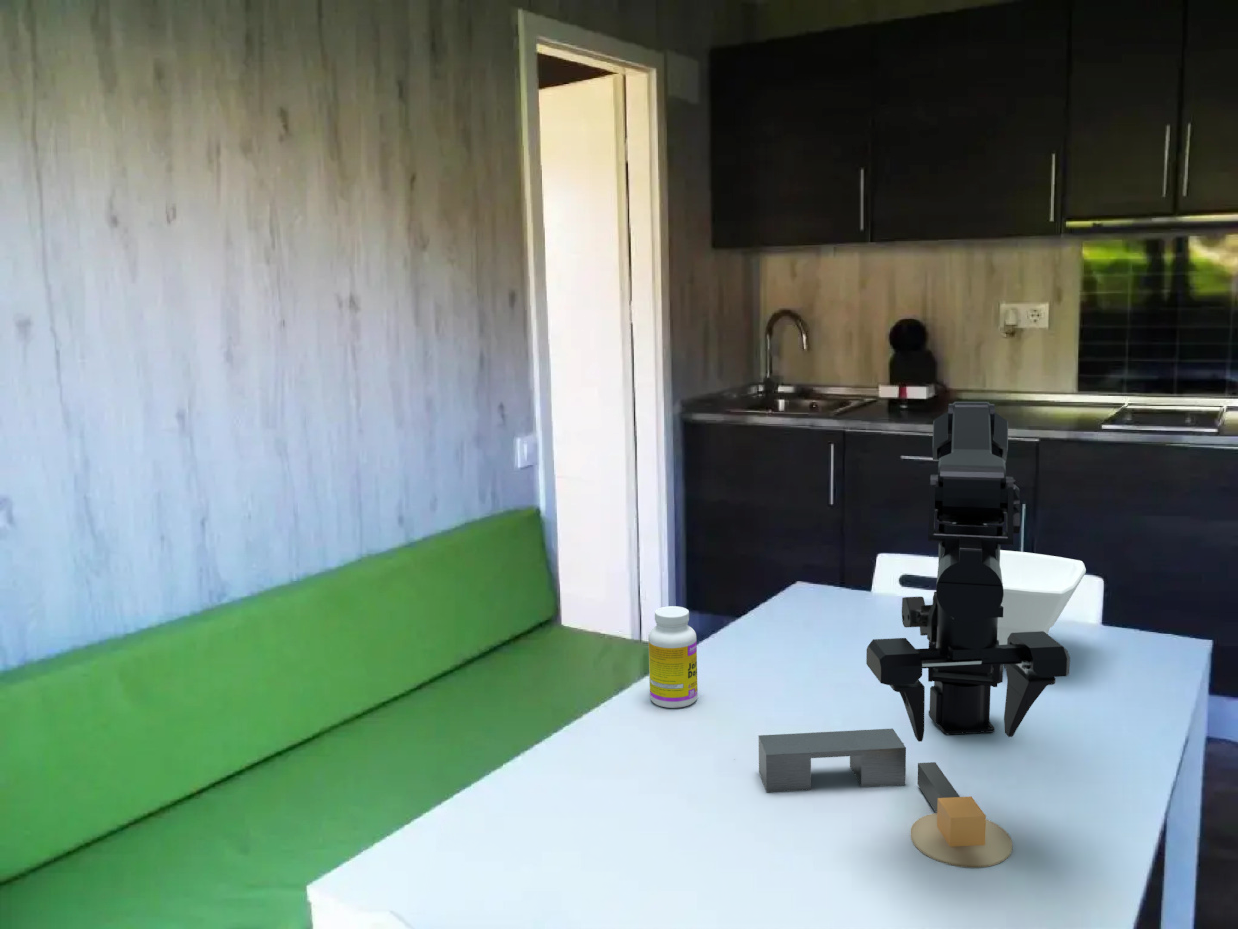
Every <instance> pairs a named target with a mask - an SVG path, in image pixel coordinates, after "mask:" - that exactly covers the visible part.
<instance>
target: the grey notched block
mask: <svg viewBox="0 0 1238 929" xmlns="http://www.w3.org/2000/svg"><path fill="white" fill-rule="evenodd" d="M842 757H843V758H844V757H849V768H850V770H851V772H852V774H853V775H854V777H855V779H856V780H857V782H858V784H859V786H860V788H873V787H874V788H875V787H890V786H891V787H893V786H905V785H906V772H907V770H906V769H907V768H906V764H907V761H906V760H907V747H906V745H905V744H904V743H903V741H902V740H901V738H900V737H899V735H898V734H897V732H896V731H895V729H894V728H877V729H876V728H875V729H859V730H855V729H853V730H839V731H838V730H837V731H820V732H800V733H781V734H780V733H779V734H761V735H758V773H759V776H760V779H761V781H762V783H763V787H764V789H765V791H766V793H777V792H779V793H780V792H782V793H783V792H799V791H801V792H802V791H811V790H812V759H821V758H822V759H823V758H825V759H826V758H842Z"/></svg>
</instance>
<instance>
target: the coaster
mask: <svg viewBox="0 0 1238 929" xmlns="http://www.w3.org/2000/svg"><path fill="white" fill-rule="evenodd" d="M909 836H910V840H911V842H912V844H913V846H915V848H916V849H917V850H918V851H920V853H922V854H923V855H925V856H926V857H929V858H930V859H932V860H935V861H937V862H939V863H942V864H946V865H948V866H954V867H960V868H977V869H979V868H980V869H981V868H987V867H992V866H995V865H998V864H1000V863H1002V862H1004V861H1006V859H1008V858H1009V857H1010V856H1011V855H1012V852H1013V841H1012V840H1013V839H1012V838H1011V836H1010V834H1009V833H1008V832H1007V831H1006V830H1005V829H1004V828H1003V827H1001V826H1000V825H998V824H997V823H995V822H994V821H992V820H989V819H987V818H986V830H985V845H974V846H954V847H950V846H949V844H948V843H947V841H946V840H945V838H944V837H943V835H942V833H941V832H940V830H939V829H938V827H937V814H936V812H933V813H930V814H926V815H923V816H922V817H919V818H918V819H916V820H915V821H914V822H913V823H912V825H911V827H910V835H909Z"/></svg>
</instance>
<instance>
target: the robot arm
mask: <svg viewBox="0 0 1238 929" xmlns="http://www.w3.org/2000/svg"><path fill="white" fill-rule="evenodd" d="M995 408H996V407H995V403H990V402H989V401H954V402H953V403H948V408H947V409H948V410H947V411H946V412H944V413H943V414H941V415H939V416H938V417H936V418H934V420H933V421H932V422H933V424H932V428H933V429H932V448H931V450H932V461H938V466H937V469H938V470H937V474H930V480H929V481H930V483H929V504H928V505H929V506H928V528H927V529H928V533H927V534H928V536H927V538H928V539H927V541H928V542H938V563H937V564H938V566H937V576H936V586H935V588H936V590H935V591H933V596H932V604H926V602H925V599H924V597H923V596H907V597H906V596H905V597H902V599H901V602H902V603H901V620H902V625H903V627H904V628H919V634H920V636H926V639H927V640H928V648H915V646H914V645H913V644H911V642H910V641H909V640H908V638H906V637H898V638H897V637H895V638H893V637H892V638H875V639H872V640H871V642H870V643H869V644H868V645H867V648H866V658H865V659H866V660H865V661H866V663H865V664H866V666H867V667H868V668H869V669H870V671H871V672H872V673H873V675H874V677H875V678H876V679H877V680H878V682H879V683H880V684H883V685H886V686H890V688H891V689H892V691H894V692H896V693H899V694H900V697H901V699H902V702H903V704H904V706H905V709H906V713H907V716H908V720H909V722H910V725H911V728H912V732H913V734H914V735H913V736H914V737H915V739H916V741H918V742H923V740H924V733H925V706H926V705H925V703H926V702H925V698H926V697H925V696H926V695H925V690H926V689H925V687H926V686H924V684H923V683H922V682H921V680H920V679H921V678H922V676H923V669H927V674H928V675H927V681H928V682H931V683H932V682H933V685H931V686H930V687H929V688H930V689H929V710H928V716H929V717H930V718H931V719H932V721H934V723H935V724H936V726H938V727H939V729H940V731H942V732H943V733H944V734H945V735H955V734H956V735H960V734H962V735H963V734H975V733H976V734H977V733H979V734H980V733H994V732H995V726H994V725H993V724H992V722H990V716H991V714H990V712H991V687H993V688H998V685H999V684H1001V683H1002V684H1003V680H1004V678H1003V677H1004V676H1003V675H1004V666H1005V672H1006V678H1007V679H1006V680H1007V681H1006V682H1007V684H1006V692H1005V693H1006V696H1005V704H1004V716H1003V724H1004V725H1003V726H1004V734H1005V735H1006V736H1007V737H1008V738H1012V737H1013V736H1014V735H1015V733H1016V731H1017V730H1018V729H1019V726H1020V725H1021V723H1022V722H1023V720H1024V718H1025V717H1026V716H1027V713H1028V712H1029V710H1030V708H1031V707H1032V706H1033V704H1034V702H1036V700H1037V699H1038V698H1039V697H1040V695H1041V694H1042V693H1043V691H1044V690H1045V688H1046V687H1047V686H1050V685H1051V686H1052V685H1055V684H1056V680H1057V677H1058V678H1059V677H1060V678H1061V677H1068V676H1069V675H1070V662H1071V658H1070V654H1069V651H1068V649H1066V648H1065V647H1064V646H1063V645H1062V644H1061V643H1060V642H1058V641H1057V640H1056V639H1054V638H1053V637H1051V635H1049V633H1048V634H1046V633H1045V632H1044V631H1040V632H1019V633H1011V634H1010V635H1009V637H1008V638H1007V645H999V640H997V629H998V617H1003V607H1002V606H1001V604H1002V600H1003V596H1004V593H1003V583H1002V575H1001V568H1000V550H1001V545H1008V546H1014V534H1020V532H1021V509H1020V507H1021V504H1020V503H1021V501H1020V500H1021V498H1020V497H1021V495H1020V494H1021V493H1020V488H1019V487H1018V486H1017V485H1016V479H1014V476H1007V469H1006V463H1007V460H1008V450H1009V421H1008V420H1007V419H1005V418H1004V417H1002V415H1000V414H998V413H997V412H996V409H995ZM936 512H937V513H936ZM935 519H936V520H935ZM936 521H937V522H939V523H938V528H935V526H936V525H935V524H936ZM1004 523H1005V525H1006V526H1005V527H1006V528H1005V530H1006V531H1003V528H1004V527H1003V524H1004Z"/></svg>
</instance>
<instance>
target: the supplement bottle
mask: <svg viewBox="0 0 1238 929" xmlns="http://www.w3.org/2000/svg"><path fill="white" fill-rule="evenodd" d="M689 620H690V611H689V609H687V608H686V607H683V606H678V605H677V606H675V605H671V606H670V605H669V606H662V607H659V608H657V609H655V611H654V621H655V624H656V626H653V628H651V629H650V631H649V632H648V637H647V638H648V639H647V640H648V670H649V671H648V674H649V675H648V677H649V699H650V701H652V703H654V704H655V705H656V706H659V707H662V708H663V707H664V708H671V709H676V708H685V707H688V706H690V705H693V704H694V703H695V702H696V701H697V699H698V652H697V650H698V648H697V643H698V642H697V633H696V631H695V630H694V629H693V628H692V627H691V626H690V625H689V624H688V623H689Z"/></svg>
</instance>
